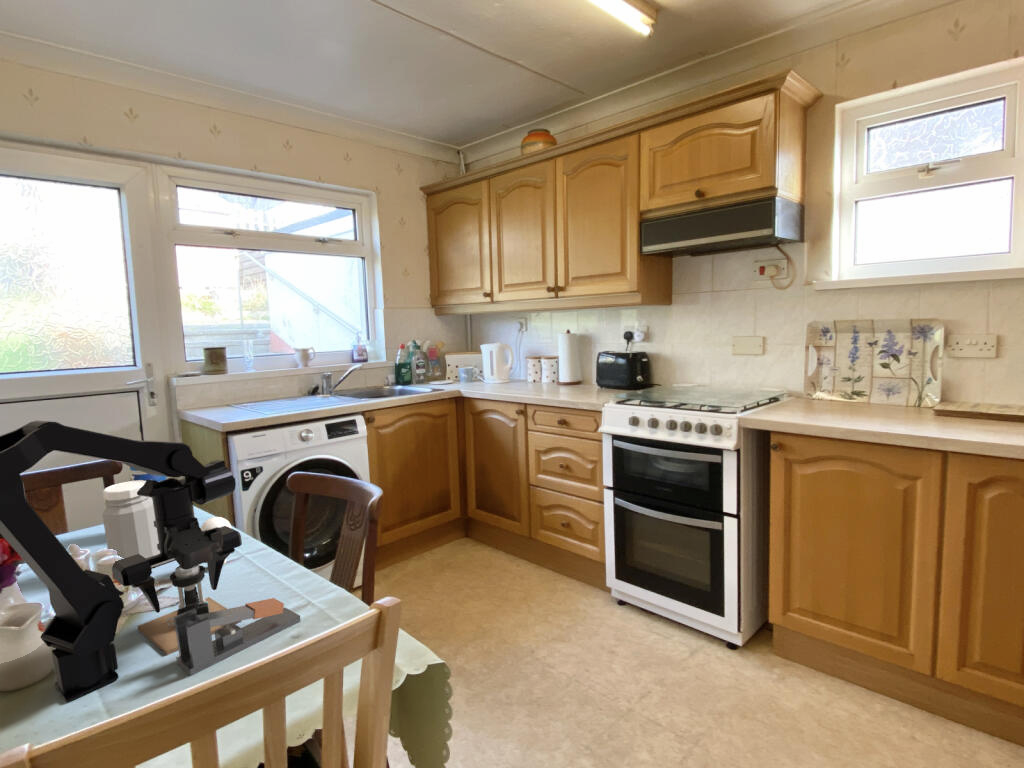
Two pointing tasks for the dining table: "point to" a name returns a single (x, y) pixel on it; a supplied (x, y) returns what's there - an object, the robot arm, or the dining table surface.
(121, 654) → the dining table surface
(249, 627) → the cutter base
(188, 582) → the push button
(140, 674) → the dining table surface
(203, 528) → the lightbulb
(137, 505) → the jar
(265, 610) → the cutter handle
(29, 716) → the dining table surface
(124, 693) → the dining table surface
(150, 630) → the pad
